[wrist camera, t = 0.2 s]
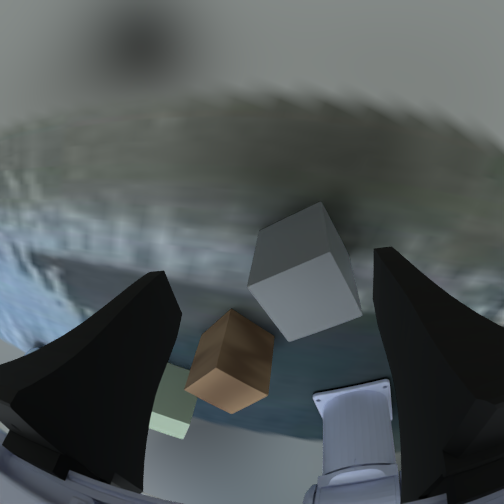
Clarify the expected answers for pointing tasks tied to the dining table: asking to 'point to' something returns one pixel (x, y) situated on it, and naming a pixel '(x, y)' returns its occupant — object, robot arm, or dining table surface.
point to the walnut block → (232, 364)
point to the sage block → (173, 403)
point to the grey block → (304, 274)
